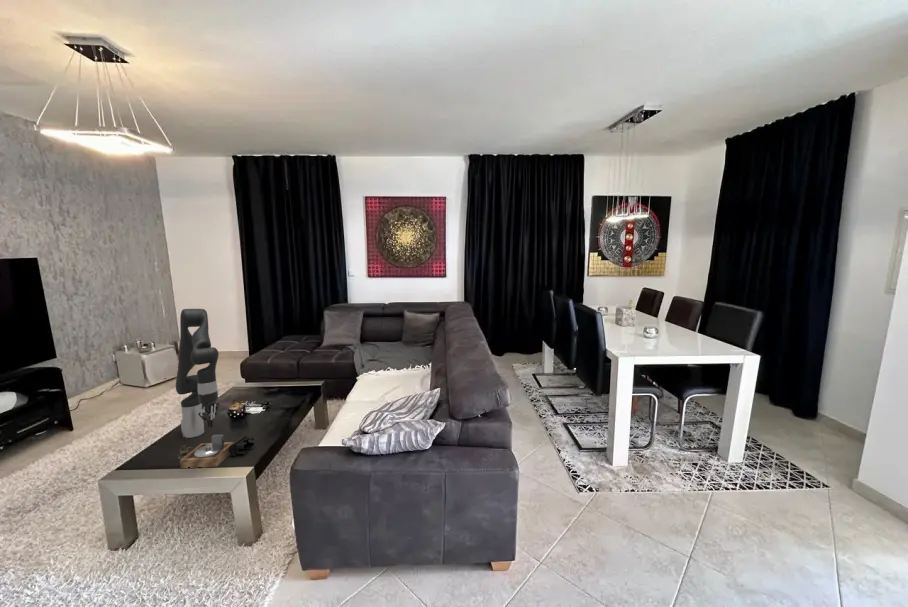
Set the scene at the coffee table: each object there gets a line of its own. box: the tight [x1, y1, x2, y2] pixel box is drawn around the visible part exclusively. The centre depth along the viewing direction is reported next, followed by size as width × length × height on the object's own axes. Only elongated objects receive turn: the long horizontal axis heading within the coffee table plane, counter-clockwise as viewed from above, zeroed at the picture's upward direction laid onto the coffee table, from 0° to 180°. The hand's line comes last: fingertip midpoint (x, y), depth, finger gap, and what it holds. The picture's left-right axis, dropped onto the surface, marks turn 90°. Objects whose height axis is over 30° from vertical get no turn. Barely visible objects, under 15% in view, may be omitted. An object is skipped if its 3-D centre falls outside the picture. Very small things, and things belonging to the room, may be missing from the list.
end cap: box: [229, 434, 255, 458], centre depth 185 cm, size 10×7×7 cm
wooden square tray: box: [179, 441, 235, 469], centre depth 179 cm, size 16×16×4 cm
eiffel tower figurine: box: [177, 431, 194, 464], centre depth 182 cm, size 15×10×13 cm
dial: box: [194, 434, 225, 458], centre depth 178 cm, size 13×11×9 cm
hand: (210, 426), depth 171 cm, fingers closed
